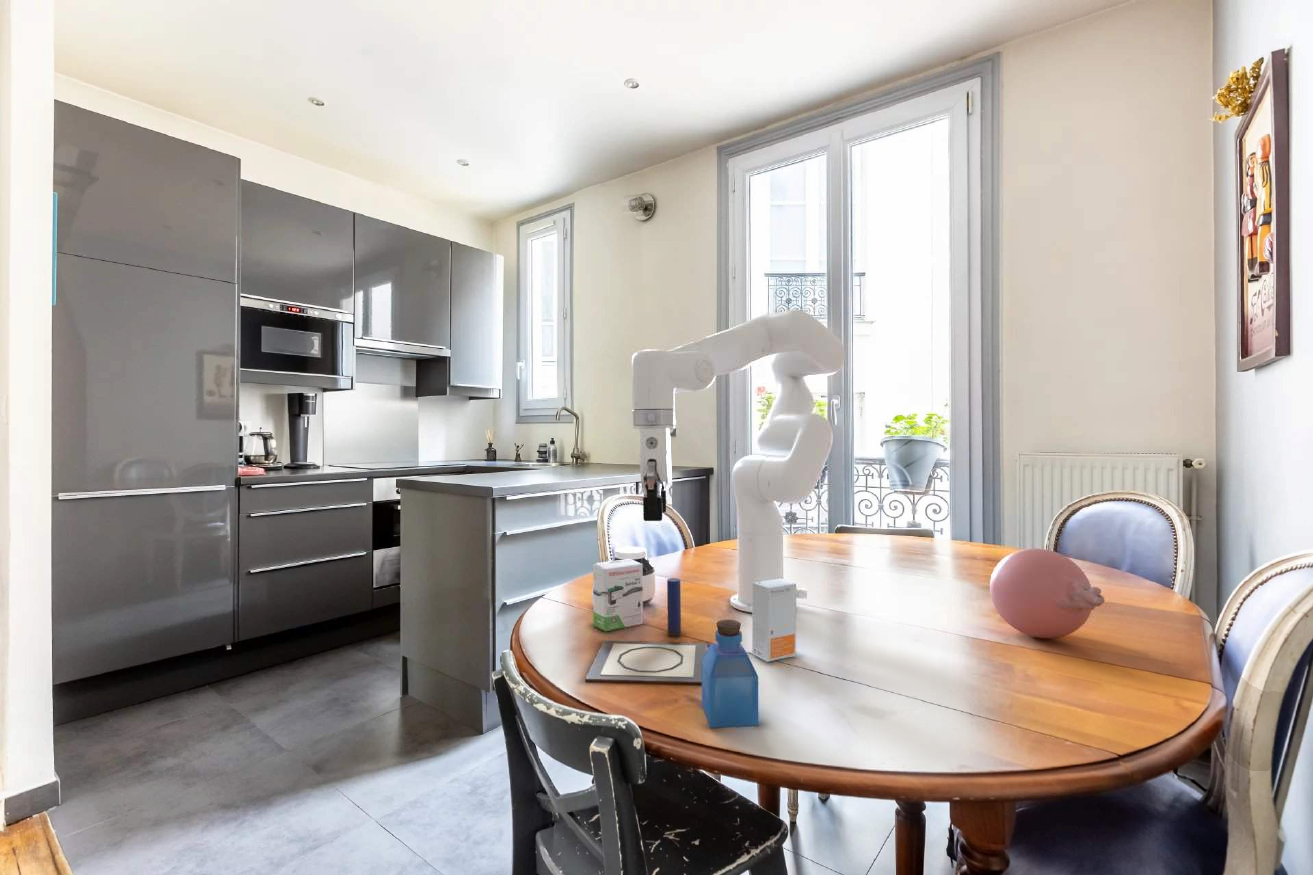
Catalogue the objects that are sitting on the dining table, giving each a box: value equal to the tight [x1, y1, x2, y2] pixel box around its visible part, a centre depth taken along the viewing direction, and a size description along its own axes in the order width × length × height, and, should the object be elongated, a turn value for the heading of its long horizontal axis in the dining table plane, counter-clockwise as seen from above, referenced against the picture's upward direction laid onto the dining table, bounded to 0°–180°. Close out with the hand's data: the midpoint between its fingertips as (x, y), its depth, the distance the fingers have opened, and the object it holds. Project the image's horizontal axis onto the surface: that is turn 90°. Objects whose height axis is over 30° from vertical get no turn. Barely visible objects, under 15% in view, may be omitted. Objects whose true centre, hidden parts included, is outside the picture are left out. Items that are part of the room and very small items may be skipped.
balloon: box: [989, 547, 1106, 639], centre depth 105 cm, size 15×20×15 cm
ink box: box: [592, 559, 644, 632], centre depth 115 cm, size 9×5×12 cm, turn 123°
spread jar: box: [590, 546, 657, 608], centre depth 127 cm, size 12×11×12 cm
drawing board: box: [584, 640, 708, 686], centre depth 97 cm, size 18×16×1 cm
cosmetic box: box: [751, 578, 797, 663], centre depth 99 cm, size 6×4×12 cm
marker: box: [666, 577, 682, 638], centre depth 109 cm, size 2×2×10 cm
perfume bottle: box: [701, 619, 760, 729], centre depth 79 cm, size 6×6×12 cm
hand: (655, 516), depth 108 cm, fingers open, 9 cm apart
